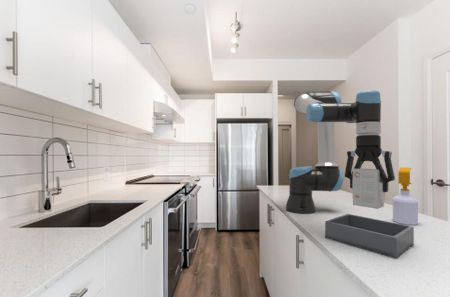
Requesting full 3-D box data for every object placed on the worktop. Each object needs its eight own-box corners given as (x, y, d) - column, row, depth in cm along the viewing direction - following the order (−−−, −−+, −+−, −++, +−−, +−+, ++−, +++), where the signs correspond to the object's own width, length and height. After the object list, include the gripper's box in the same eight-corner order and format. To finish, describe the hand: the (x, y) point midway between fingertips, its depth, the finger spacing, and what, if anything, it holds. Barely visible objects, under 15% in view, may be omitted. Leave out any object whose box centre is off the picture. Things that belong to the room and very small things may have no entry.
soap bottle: (418, 222, 110) (418, 167, 110) (416, 226, 103) (416, 168, 104) (394, 218, 116) (394, 166, 116) (391, 222, 109) (391, 167, 110)
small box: (384, 206, 85) (384, 169, 85) (377, 209, 81) (377, 170, 81) (359, 203, 91) (359, 168, 91) (352, 205, 87) (352, 168, 87)
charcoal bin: (325, 237, 88) (325, 221, 89) (347, 228, 100) (347, 213, 100) (396, 258, 71) (396, 238, 72) (413, 244, 83) (413, 226, 83)
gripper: (334, 135, 92) (333, 196, 91) (399, 132, 76) (400, 206, 75) (343, 136, 97) (343, 194, 96) (407, 134, 81) (407, 203, 80)
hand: (368, 199), depth 86 cm, fingers closed on small box, 8 cm apart
